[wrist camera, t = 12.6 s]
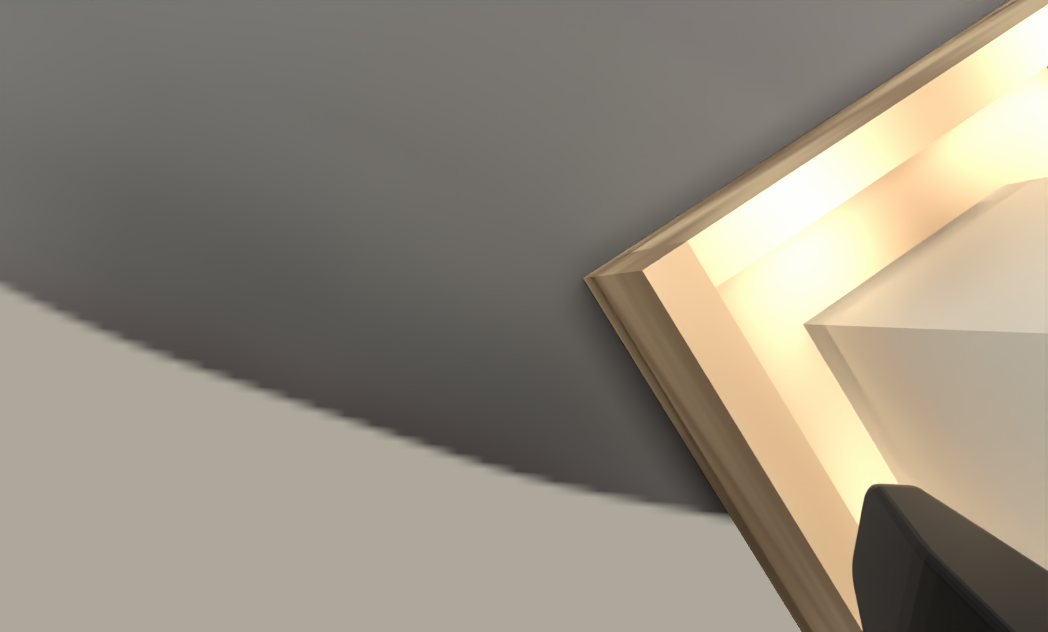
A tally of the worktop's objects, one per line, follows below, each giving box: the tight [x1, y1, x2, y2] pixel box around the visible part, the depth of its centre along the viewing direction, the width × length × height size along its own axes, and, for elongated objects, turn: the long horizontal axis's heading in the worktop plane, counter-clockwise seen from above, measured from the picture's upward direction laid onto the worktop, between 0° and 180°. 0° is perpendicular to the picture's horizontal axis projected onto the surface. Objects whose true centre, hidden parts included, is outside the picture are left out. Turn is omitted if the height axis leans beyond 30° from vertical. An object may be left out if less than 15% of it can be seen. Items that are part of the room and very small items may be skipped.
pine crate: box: [583, 0, 1048, 632], centre depth 21 cm, size 13×13×4 cm
